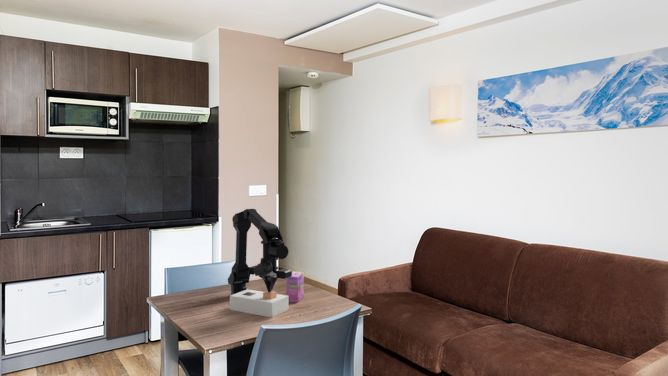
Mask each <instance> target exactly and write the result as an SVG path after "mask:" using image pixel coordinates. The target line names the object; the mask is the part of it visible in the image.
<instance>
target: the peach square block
mask: <svg viewBox="0 0 668 376" xmlns="http://www.w3.org/2000/svg"><path fill="white" fill-rule="evenodd" d="M263 292H264V293H263V298H265V299H274V298H276V294H277V291H274V290H272V291H271V292H268V290H266V291H263Z"/></svg>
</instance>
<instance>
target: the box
mask: <svg viewBox="0 0 668 376" xmlns="http://www.w3.org/2000/svg"><path fill="white" fill-rule="evenodd" d="M291 272H292V276H291V277H288V278H286V291H285V292H286V294H285V295H287V296H289V303H299V302H300V301H301V299H303V297H305V272H304V271H291Z"/></svg>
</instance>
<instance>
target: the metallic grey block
mask: <svg viewBox="0 0 668 376" xmlns="http://www.w3.org/2000/svg"><path fill="white" fill-rule="evenodd" d="M254 294H255V293H251V292H247V293H244V294H242V295H246V296H251V295H254Z"/></svg>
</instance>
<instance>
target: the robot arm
mask: <svg viewBox="0 0 668 376" xmlns="http://www.w3.org/2000/svg"><path fill="white" fill-rule="evenodd" d="M231 218H232V219H231V220H232V227H233V228H234V230H235V233H236V234H235V235H236V236H235V240H236V241H235V262H234V264H233V265H232V267H231V272H230V274H229V276H228V278H227V284H228V285H230V290H231V291H230V295H233V294H236V293H239V292H241V291H244V290H247V284H249V282H250V277H251V275H252V276H254V275H255V276H256V277H259V278H260V279H262V280H263V283H264V284H265V288H266V289H267V290H266V291H268V292H271V291H273V289H274V287H275V284H276V282H277V281H278V279H282V280H284V279H285V280H286V279H287V278H288V277H291V276H292V272H293V271H292V270H291V269H287V268H282V269H279V266H277V261H278V260H279V259H280V260H284V259H286V258H287V257H288V255H289V248H288V246H287V245H285V242H284V240H283V239H284V238H283V235H282V233H281V231H280V228H279V226H278V225H276V224H274V223H271V222H269V221H267V220H266V219H265V218H264V217H263V216H261V214H260V213H258V211H257V209H256V208H245V209H244V210H242V211H240V212H237V213H235V214H234V215H233V216H232V217H231ZM252 225H253V226H254V227H255V228H257V230H258V235H259V236H260V238H261V241H260V244H262V257H261V258H260V263H257V264H256V265H253V266H249V265H248V263H247V251H248V250H247V249H248V247H247V246H248V243H247V242H248V232H249V231H250V229H251V227H252ZM230 295H228V297H229V298H230Z"/></svg>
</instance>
